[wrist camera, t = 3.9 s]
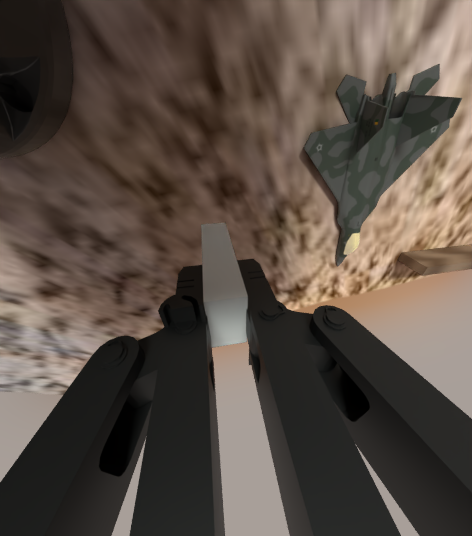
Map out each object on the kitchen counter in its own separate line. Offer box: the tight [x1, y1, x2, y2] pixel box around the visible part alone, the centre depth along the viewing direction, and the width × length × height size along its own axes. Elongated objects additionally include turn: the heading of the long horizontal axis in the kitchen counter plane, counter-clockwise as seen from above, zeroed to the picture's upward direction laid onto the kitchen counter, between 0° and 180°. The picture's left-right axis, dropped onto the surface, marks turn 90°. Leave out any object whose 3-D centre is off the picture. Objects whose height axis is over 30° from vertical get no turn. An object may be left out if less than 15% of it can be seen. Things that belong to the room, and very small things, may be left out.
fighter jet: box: [304, 64, 462, 266], centre depth 18 cm, size 13×18×4 cm
